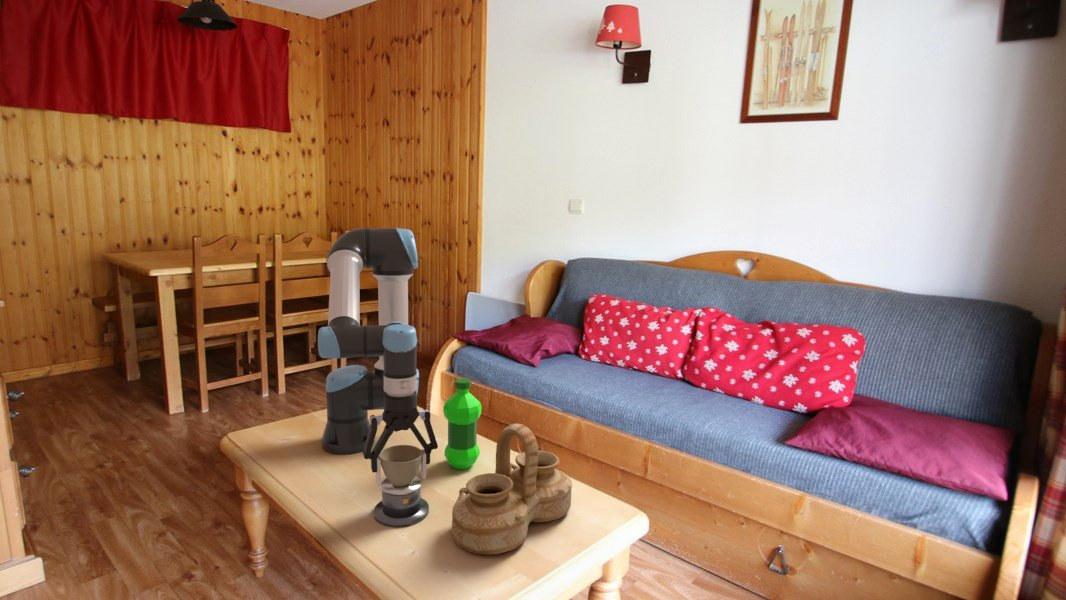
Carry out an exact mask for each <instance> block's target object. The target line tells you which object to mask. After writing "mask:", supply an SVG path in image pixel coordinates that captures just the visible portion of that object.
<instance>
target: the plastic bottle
mask: <svg viewBox="0 0 1066 600" xmlns="http://www.w3.org/2000/svg"><path fill="white" fill-rule="evenodd" d="M471 383H472V382H471V380H470V379H469V378H465V377H464V378H463V377H461V378H456V379H455V380H454V388H456V392H455V393H454V394H452V395H451V396H450V397H449V398H448V399H447V400H446V401H445V403H444V405H443V410H442V411H443V416H444V417H445V418H446V420H447V445H446V447H445V449H444V457H445V460H446V461H447V462H448V463H449V464H450V465H451V466H452V467H453V468H454V469H457V470H467V469H469V468H470V467H471V466H473V465H474V464H475V463H476V462H477V460H478V459H479V457H480V453H481V452H480V447H479V445H478V444H477V437H478V436H477V431H478V430H477V424H478V423H477V422H478V419H479V418H480V417H481V415H482V404H481V401H479V400H478V399H477V398H476V397H475V396H474V395H473V394H472V393H471V392H469V391H470V390H469V389H470V388H471V386H472V384H471Z"/></svg>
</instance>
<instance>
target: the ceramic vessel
mask: <svg viewBox="0 0 1066 600" xmlns="http://www.w3.org/2000/svg"><path fill="white" fill-rule="evenodd" d="M513 436H515V437H517V438H518V439H519V441H521V443H522V446H523V449H524V451H523V452H521V453H518V454H517V455H516V456H515V463H516V464H514V463H511V445H512V441H513V440H512V438H513ZM536 438H537V437H536V436H535V435H534V433H533V431H532V430H531V429H530V428H529V427H527V426H526V425H524V424H521V423H512V424H510V425H508V426H506V427H504V429H502V431H501V433H500V434H499V437H498V438H497V442H496V447H495V448H496V450H495V472H494V473H491V472H490V473H482V474H477V475H475V476H473V477H471V478H470V479H469V480H468V481H467V482H466V484H465V487H461V488H460V489H459V491H458V497H457V499H456V500H455V503H454V505H453V506H452V511H451V512H452V513H451V514H452V516H451V517H452V520H451V535H452V538H453V540H454V542H455V543H456V544H457V546H459V547H460V548H461V549H464V550H466V551H468V552H470V553H474V554H479V555H496V554H502V553H506V552H509V551H512V550H514V549H516V548H517V547H519V546H521V545H522V544H523V543H524V542H525V540H526V539H527V537H528V532H529V525H530V523H545V522H550V521H551V522H552V521H553V520H554V521H555V520H557V519H560V518H562V517H564V516H565V515H566V514H567V513H568V512H569V510H570V508H571V506H572V490H573V489H572V488H573V484H572V479H571V478H570V476H569V475H567V474H566V473H564V472H563V471H561V470H559V469H558V468H557V467H558V466H559V464H560V458H559V457H558V456H557V454H554V453H553V452H550V451H545V450H539V445H538V442H537V439H536Z"/></svg>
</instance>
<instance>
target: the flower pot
mask: <svg viewBox="0 0 1066 600" xmlns="http://www.w3.org/2000/svg"><path fill="white" fill-rule="evenodd" d="M379 457H380V460H381V469H382V471H383V474H384V475H385V477H386V478H387V479H388V480H389V482H390V483H391V484H393V485H395V486H404V485H407V484H409V483H410V482H411V481H412V480H413V478H414V477H415V476H417V473H418V471H419V468H420V463H421V459H422V450H421V448H419V447H418V446H417V445H411V444H395V445H391V446H387V447H384V448H383V450H382V451H381V453H380V455H379Z"/></svg>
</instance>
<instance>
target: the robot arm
mask: <svg viewBox="0 0 1066 600" xmlns="http://www.w3.org/2000/svg"><path fill="white" fill-rule="evenodd" d="M416 245H417V244H416V240H415V235H414V234H413V231H412V230H410V229H408V228H407V229H406V228H399V227H389V228H387V227H385V228H384V227H383V228H380V227H379V228H377V227H376V228H375V227H373V228H372V227H371V228H368V227H367V228H366V227H359V228H358V227H357V228H354V229H351V230H349V231H347V232H345V233H343V234H342V235H341V236H340V237H338V239H336V240H335V241H334V243H332V245H331V248H330V249H329V251H328V254H327V258H326V259H327V260H326V266H327V269H328V271H329V272H330V273H329V274H330V278H329V280H330V281H329V296H328V297H329V301H328V320H327V323H328V324H327V326H322V327H320V328H319V329H318V332H317V333H318V334H317V349H318V355H319V357H321V358H322V359H337V360H339V359H351V358H352V359H353V358H371V357H372V358H373V357H379V359H378V360H377V362H376V363H374V365H373V367H374V368H373V369H374V370H368V368H367V367H366V366H365V365H361V364H360V365H359V364H353V365H345V366H341V367H339V368H336V369H333V370H332V371H330V372H329V373H328V374H327V376H326V379H325V382H326V383H325V392H326V423H325V427H324V430H323V434H322V437H321V448H322V449H323V450H324V451H326V452H328V453H331V454H335V455H336V454H338V455H346V454H348V455H349V454H355V453H356V454H357V453H359V452H362V455H363V458H364V460H370V469H371V472H372V473H373V474H374V473H375V483H376V486H377V487H378V488H379V487H381V483H382V470H381V469H382V466H381V460H380V457H379V455H380V453H381V451H382V450H383V449H385V446H386V444H387V442H388V441H389V439H390V438H391V436H392V435H393V434H394V432H395V433H396V432H399V431H409V429H410V431H411V433H413V435H414V436H415V438H416V439H417V441H418V442H419V444H420V445H421V447H422V449H421V448H420V449H421V450H422V459H421V463H420V466H419V468H420V473H419V474H420V476H421V479H422V480H427V465H430V464H431V453H432V450H437V449H438V447H439V446H438V442H437V438H436V436H435V433H434V429H433V426H432V423H431V422H432V421H431V412H430V411H429V409H428V408H424V409H422V410H418V407H417V406H418V399H417V397H418V391H419V380H420V379H419V378H420V372H419V369H418V368H417V350H418V349H417V347H418V338H417V330H416V328H415V327H414V326H412V325H409V280H410V278H411V277H412V276H413V275H414V270H416V269H417V268H419V262H418V261H419V260H418V251H417V246H416ZM363 269H371V270H372V276H373V277H374V278H375V279H376V280H377V287H378V288H377V289H378V291H377V292H378V293H377V295H378V296H377V298H378V302H377V303H378V325H361V323H360V322H361V321H360V320H361V319H360V314H361V313H360V310H361V308H360V303H361V300H360V287H361V286H360V273H361V272H362V271H363ZM376 410H377V411H378V410H380V411H381V410H383V412H382V414H381V415H374V414H371V415H370V416H368V415H369V414H368V411H376ZM419 417H420V419H421V420H422V421H423V424H424V427H425V430H426V434H427V436H428V440H429V443H427V441H426V439H424V437H423V436H422V434H421V432H420V431H419V429H418V428H417V426H416V425H415V423H416V421H417V420H418V418H419ZM382 421H383V422H384V423H385V426H384V427H383V431H382V432H381V434H380V436H379V437H378V440H377V441H376V443H375V438H376V435H377V433H378V426H380V425H381V422H382ZM374 443H375V445H374ZM373 445H374V446H373Z"/></svg>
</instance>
